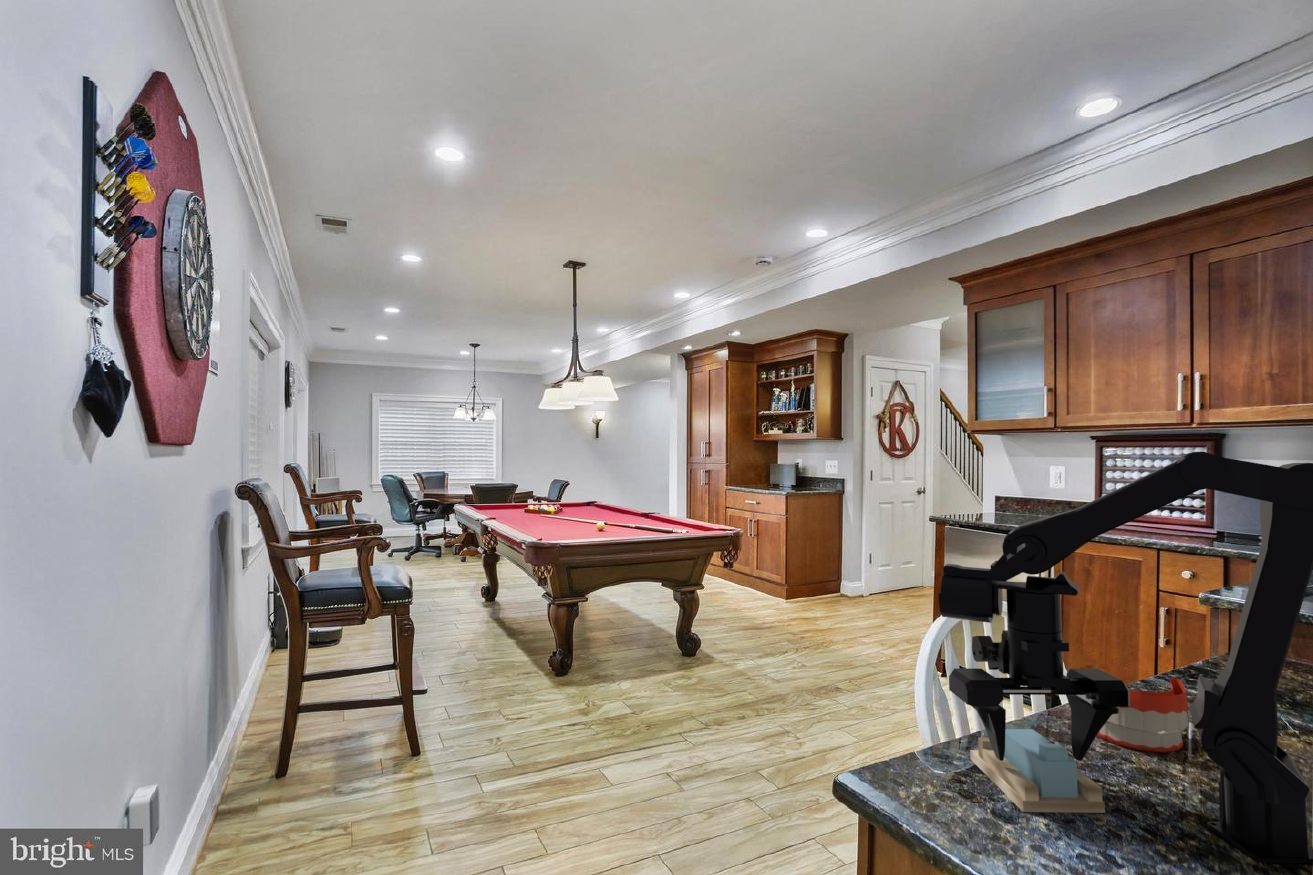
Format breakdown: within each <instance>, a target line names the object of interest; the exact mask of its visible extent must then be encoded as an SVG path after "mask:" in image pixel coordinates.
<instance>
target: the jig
mask: <svg viewBox="0 0 1313 875" xmlns="http://www.w3.org/2000/svg"><path fill="white" fill-rule="evenodd" d="M1044 738H1045V739H1046V740H1048V739H1047V738H1046V737H1044ZM1048 741H1049V742H1050V743H1051V741H1050V740H1048ZM977 748H978V749H970V753H969V754H970V755H969V756H970V757H969V758H970V760H971V761H972V762H973V763H974V765H975V766H977V767H978V769H980V770H981V772H983V773H984V775H986V776H987V777H988V778H989V779H990V781H992V782H993V783H994V784H995V785H996V786H997V787H998V788H999V789H1000V791H1002V792H1003V793H1004V794H1005V795H1006V796H1007V797H1008V798H1009V800H1011V802H1013V803H1014V805H1016V806H1017V807H1018V808H1019V809H1020V810H1021V811H1022V812H1023V813H1088V814H1089V813H1092V814H1093V813H1094V814H1095V813H1101V814H1102V813H1103V814H1105V813H1106V807H1105V804H1106V802H1105V800H1103V788H1102V787H1101V786H1100V785H1099V784H1097V783H1096V782H1095V781H1093V780H1092V779H1091V778H1089V777H1088V776H1087V775H1085V774H1084V773H1083V772H1081V771H1080V770H1079V769H1077V792H1078V798H1047V797H1041V796H1040V795H1039V789H1038V787H1037V786H1036V785H1035V784H1034V783H1033V782H1032V781H1031V780H1029V779H1028V778H1027V777H1026V776H1025V775H1024V774H1023V773H1022V772H1020V771H1019V770H1018V769H1017V768H1016V767H1015V766H1014V765H1013V764H1011V763H1010V762H1009V761H1008V760H1007V759H1006V758H1005V757H1004V759H1003V761H1000V760H999V759H997V758H996V756H995V753H994V751H993V748H992V745H991V743H990V740H989V737H988V736H987V737H985V736H983V737H981V736H979V737H977Z"/></svg>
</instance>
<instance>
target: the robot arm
mask: <svg viewBox="0 0 1313 875" xmlns="http://www.w3.org/2000/svg"><path fill="white" fill-rule="evenodd" d="M1201 490H1211V491H1217V492H1220V493H1224V494H1225V493H1226V494H1231V495H1236V496H1240V497H1245V498H1249V499H1253V500H1257V501H1258V500H1259V501H1260V507H1259V509H1260V510H1259V519H1260V522H1259V523H1260V540H1261V543H1260V548H1259V552H1258V555H1257V560H1256V562H1255V566H1254V569H1253V571H1252V572H1253V573H1252V576H1251V579H1250V583H1249V586H1248V590H1247V593H1246V596H1245V600H1244V604H1243V607H1242V610H1241V614H1240V617H1239V621H1238V624H1237V627H1236V632H1235V634H1234V638H1233V642H1232V645H1231V649H1230V652H1229V655H1228V658H1227V663H1226V665H1225V667H1224V669H1223V670H1222V672H1221V673H1220V675H1218V677H1217V678H1216V679H1215V681H1212V680H1210V679H1209V678H1208V679H1207V678H1206V677H1204V676H1202V675H1200V676H1198V680H1197V692H1196V696H1195V699H1194V701H1193V702H1192V703H1191V704H1190V705H1188V711H1189V714H1190V715H1191V719H1192V723H1193V726H1194V728H1195V729H1196V731H1197V733H1198V734H1197V735H1198V737H1199V740H1200V743H1201V744H1200V745H1201V747H1202V749H1203V750H1204V752H1205V754H1206V756H1208V758H1209V759H1210V760H1211V761H1212V762H1213V763H1214V764H1216V766H1218V767H1219V768H1220V769H1219V774H1220V775H1219V776H1220V777H1219V779H1220V780H1219V781H1218V793H1219V795H1218V796H1219V815H1220V816H1219V817H1220V818H1219V819H1220V820H1221V821H1207V822H1206V823H1207V828H1208V829H1210V830H1211V831H1212V832H1214V833H1216V834H1217V835H1219V836H1220V837H1221V838H1223V839H1225V840H1226V841H1228V842H1229V843H1230V844H1232V845H1233V846H1235V847H1236V848H1237V849H1239V850H1241V851H1242V852H1243V853H1244V854H1246V855H1248V856H1249V857H1251V858H1252V859H1254V860H1256V861H1258V862H1260V863H1267V864H1268V863H1269V864H1276V863H1277V864H1284V863H1285V864H1313V848H1310V847H1309V837H1308V817H1307V816H1308V815H1307V814H1308V813H1307V812H1308V811H1307V797H1308V795H1309V792H1310V787H1309V785H1308V784H1307V782H1306V780H1305V779H1304V777H1303V776H1302V774H1301V772H1300V770H1299V769H1298V767H1297V765H1296V764H1295V762H1294V760H1293V759H1292V757H1291V755H1290V754H1289V753H1288V752H1287V751H1286V750H1284V749H1283V747H1281V746H1280V745H1279V744H1278V737H1279V736H1278V734H1279V722H1278V721H1279V719H1278V704H1277V703H1278V702H1277V690H1278V689H1277V688H1278V686H1279V683H1280V682H1279V681H1280V679H1281V677H1282V676H1281V675H1282V672H1283V669H1284V666H1285V662H1286V659H1287V655H1288V652H1289V650H1290V645H1291V642H1292V639H1293V635H1294V633H1295V632H1294V631H1295V628H1296V626H1297V622H1298V619H1299V615H1300V613H1301V609H1302V606H1303V602H1304V599H1305V597H1306V596H1305V595H1306V591H1307V589H1308V586H1309V582H1310V579H1311V576H1312V572H1313V462H1292V463H1287V464H1282V465H1279V466H1275V465H1268V464H1264V463H1258V462H1252V461H1247V460H1241V459H1235V458H1229V457H1224V456H1217V455H1214V454H1213V453H1210V452H1206V451H1192V452H1191V451H1190V452H1188V453H1184V454H1183V455H1181V456H1180V457H1178V459H1176V460H1175V461H1174V462H1173V461H1172V462H1171V463H1169V464H1167V465H1165V466H1162V467H1161V468H1158V469H1156V470H1155V471H1152V472H1150V473H1148V474H1146V475H1145V476H1142V477H1140V478H1137V479H1135V480H1133V481H1131V482H1129V483H1127V484H1124V485H1123V486H1121V487H1119V488H1117V489H1115V490H1113V491H1111V492H1109V493H1106V494H1104V495H1102V496H1099V497H1097V498H1096V499H1093V500H1091V501H1089V502H1088V503H1086V504H1083V505H1081V506H1079V507H1077V508H1074V509H1070V510H1066V511H1063V512H1060V513H1055V514H1053V515H1052V514H1051V515H1048V516H1044V517H1041V518H1039V519H1035V520H1031V521H1027V522H1025V523H1021V524H1019V525H1018V526H1016V527H1015V528H1013V529H1012V530H1010V531H1009V532H1008V533H1007V534H1006V535H1005V537H1004V539H1003V542H1002V546H1001V547H1002V555H1001V556H1000V558H999V559H998V560H995V561H994V562H992V563H991V564H990V568H984V567H971V566H963V565H959V564H954V563H953V564H951V563H947V564H945V565H944V566H943V568H942V572H943V573H942V578H941V582H940V591H939V592H938V607H939V612H940V615H941V617H942V618H949V619H957V620H965V621H974V622H983V623H989V624H990V623H993V619H994V615H995V616H1002V614H1003V608H1004V607H1003V606H1004V604H1003V603H1004V602H1003V601H1004V600H1003V590H1006V592H1005V593H1006V616H1007V617H1006V621H1007V630H1005V629H1004V630H1002V633H1001V635H1000V636H1001V640H1000V641H999V642H994V641H993V639H992V637H991V636H990V635H974V636H972V637H971V651H972V657H973V660H974V662H977V663H985V662H987V666H988V670H991V671H998V672H1000V673H1001V674H1002V675H1003V674H1004V675H1005V674H1006V675H1008V677H995V676H993V675H992V674H990V673H989V672H988V671H986V670H984V669H983V668H959V667H958V668H953V670H952V671H951V673H950V674H949V676H948V689H949V691H950V692H951V693H952V694H954V695H955V696H956V697H957V698H959V699H960V700H961V701H963V702H964V703H965V704H966V705H967V706H971V707H972V708H973V709H974V710H975V711H976V712H977V714H978V716H979V718H980V720H981V722H982V724H983V726H984V729H985V732H986V735H987V737H989V740H990V743H991V745H992V748H993V751H994V753H995V756H996V758H997V759H999V760H1000V761H1003V759H1004V754H1005V729H1006V728H1007V727H1006V725H1007V722H1006V720H1007V717H1006V716H1007V710H1006V708H1004V707H1003V706H1001V705H1000V704H1001V703H1002V702H1003V701H1004V695H1007V696H1010V695H1012V696H1013V695H1016V696H1017V695H1019V696H1021V695H1023V696H1025V695H1026V696H1028V695H1031V696H1035V695H1036V696H1037V695H1038V696H1039V695H1040V696H1041V695H1043V696H1044V695H1045V696H1050V695H1051V696H1054V695H1055V696H1063V695H1064V696H1065V697H1066V699H1067V702H1068V705H1069V708H1070V715H1071V716H1070V720H1071V724H1070V725H1071V733H1070V734H1071V737H1070V738H1071V751H1072V757H1073V759H1074V760H1075V761H1076V762H1077V761H1078V762H1082V761H1083V760H1084V758H1085V756H1086V754H1087V753H1088V751H1089V749H1090V748H1091V746H1092V744H1093V742H1094V740H1095V739H1096V737H1098V736H1097V734H1098V732H1099V731H1100V730H1101V728H1102V727H1103V726H1104V724H1105V723H1106V722H1107V720H1108V719H1109V718H1110V716H1111V715H1112V714H1118V713H1119V709H1118V708H1117V707H1129V706H1130V691H1129V690H1130V688H1129V687H1128V686H1127V684H1126V683H1125V682H1124V680H1122V679H1120V678H1118V677H1116V676H1114V675H1112V674H1110V673H1108V672H1105V671H1103V670H1102V669H1099V668H1087V669H1080V668H1069V670H1068V671H1067V672H1066V674H1064V652H1070V642H1068V641H1066V640H1065V639H1063V625H1062V624H1063V623H1062V620H1063V618H1062V599H1061V598H1062V597H1061V596H1062V595H1063V596H1073V597H1075V596H1078V594H1079V591H1080V586H1079V585H1078V584H1076V583H1075V582H1074V581H1072V579H1070V578H1069V577H1068V576H1067V574H1066V572H1065V571H1060V572H1059V573H1058V574H1057V575H1056V576H1055V577H1048V576H1047V577H1046V576H1034V575H1039V574H1044V573H1046V572H1047V571H1049V570H1050V569H1052V568H1053V567H1055V566H1056V565H1058V564H1059V563H1060V562H1062V561H1064V560H1065V559H1067V558H1069V556H1071V555H1072V554H1073V553H1075V552H1076V551H1078V550H1079V549H1080V548H1082V547H1083V546H1084V545H1086V544H1088V542H1091V541H1092V540H1093V539H1095V538H1096V537H1100V536H1101V535H1103V534H1105V533H1108V532H1110V531H1112V530H1115V529H1116V528H1118V527H1121V526H1123V525H1126V524H1127V523H1130V522H1132V521H1134V520H1136V519H1139V518H1141V517H1143V516H1145V515H1147V514H1149V513H1152V512H1154V511H1157V510H1159V509H1160V508H1163V507H1165V506H1167V505H1171V504H1172V503H1174V502H1177V501H1179V500H1181V499H1182V498H1183V499H1184V498H1186V497H1187V496H1190V495H1191V494H1194V493H1196V492H1199V491H1201ZM1021 574H1027V576H1026V581H1009V580H1011V579H1013V578H1015V577H1017V576H1019V575H1021Z"/></svg>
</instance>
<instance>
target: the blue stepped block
mask: <svg viewBox="0 0 1313 875" xmlns="http://www.w3.org/2000/svg"><path fill="white" fill-rule="evenodd" d="M1045 738H1046V737H1044V736H1042V735H1041V734H1039V733H1038V732H1037V731H1036V730H1034V729H1032V728H1030V729H1029V728H1027V729H1026V728H1023V729H1021V728H1019V729H1016V728H1015V729H1013V728H1012V729H1010V728H1007V729H1005V754H1004V757H1005V758H1006V759H1007V760H1008V761H1009V762H1010V763H1011V764H1013V765H1014V766H1015V767H1016V768H1017V769H1018V770H1019V771H1020V772H1022V773H1023V774H1024V775H1025V776H1026V777H1027V778H1028V779H1029V780H1031V781H1032V782H1033V783H1034V784H1035V785H1036V786H1037V787H1038V789H1039V795H1040V796H1041V797H1047V798H1078V792H1077V770H1078V769H1077V768H1078V766H1077V760H1076V759H1074V758H1072V757H1071V756H1069V750H1068V749H1067V748H1066V747H1064V746H1063V745H1061V744H1060V743H1052V742H1051V741H1050V740H1048V739H1047V738H1046V739H1047V740H1046V739H1045ZM1049 741H1050V742H1049Z"/></svg>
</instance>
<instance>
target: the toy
mask: <svg viewBox="0 0 1313 875" xmlns="http://www.w3.org/2000/svg"><path fill="white" fill-rule="evenodd" d="M1079 669H1088V668H1086V667H1079ZM1169 682H1170V687H1171V690H1167V691H1161V692H1160V691H1159V692H1153V691H1139V690H1135V689H1134V690H1133V689H1129V691H1130V706H1129V707H1117V708H1118V709H1119V713H1118V714H1112V715H1111V716H1110V718H1109V719H1108V720H1107V722H1106V723H1105V724H1104V726H1103V727H1102V728H1101V730H1100V731H1099V732H1098V734H1097V736H1096V737H1098V738H1100V739H1102V740H1105V741H1107V742H1110V743H1112V744H1114V745H1117V746H1119V747H1122V748H1123V747H1124V748H1129V749H1133V750H1137V751H1143V752H1151V753H1162V754H1163V753H1170V752H1171V753H1172V752H1176V751H1179V750H1181V749H1182V748H1183V746H1184V741H1183V738H1182V733H1183V732H1182V731H1184V730H1186V729H1187V728H1188V727H1189V720H1188V719H1189V718H1188V711H1189V701H1188V695H1187V691H1186V688H1185V685H1184V683H1183V681H1182V680H1181V679H1179V678H1175V677H1173V678H1170V679H1169Z"/></svg>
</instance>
